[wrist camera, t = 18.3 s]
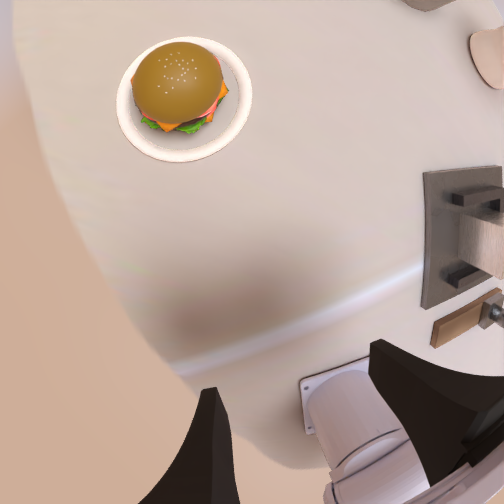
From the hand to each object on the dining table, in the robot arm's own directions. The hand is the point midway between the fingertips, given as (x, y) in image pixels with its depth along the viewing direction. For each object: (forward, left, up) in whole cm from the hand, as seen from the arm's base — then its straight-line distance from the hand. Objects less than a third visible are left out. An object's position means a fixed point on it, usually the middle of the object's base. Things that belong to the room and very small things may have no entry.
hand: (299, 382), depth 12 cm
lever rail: (-11, -25, -10) cm, 29 cm away
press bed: (0, -22, -10) cm, 24 cm away
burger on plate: (+14, +2, -11) cm, 18 cm away
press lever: (-11, -28, -9) cm, 31 cm away
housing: (0, -22, -9) cm, 24 cm away
